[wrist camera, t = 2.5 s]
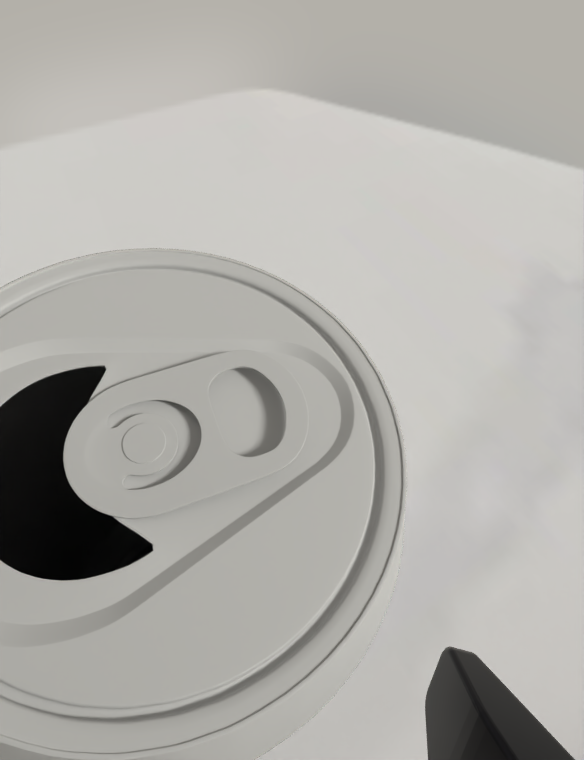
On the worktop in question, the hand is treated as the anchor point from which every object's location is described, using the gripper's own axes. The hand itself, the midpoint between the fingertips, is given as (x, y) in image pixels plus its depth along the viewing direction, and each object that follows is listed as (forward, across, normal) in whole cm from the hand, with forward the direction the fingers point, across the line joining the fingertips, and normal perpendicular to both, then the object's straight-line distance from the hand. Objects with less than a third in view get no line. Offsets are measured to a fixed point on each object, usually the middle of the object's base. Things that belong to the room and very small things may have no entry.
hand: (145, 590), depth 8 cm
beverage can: (+7, 0, +6) cm, 9 cm away
